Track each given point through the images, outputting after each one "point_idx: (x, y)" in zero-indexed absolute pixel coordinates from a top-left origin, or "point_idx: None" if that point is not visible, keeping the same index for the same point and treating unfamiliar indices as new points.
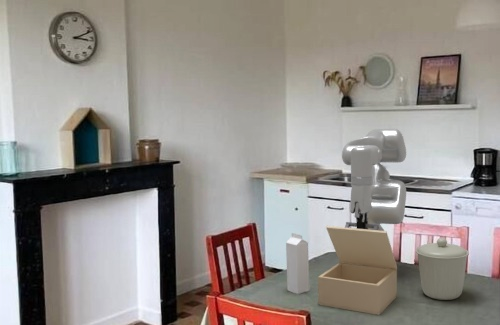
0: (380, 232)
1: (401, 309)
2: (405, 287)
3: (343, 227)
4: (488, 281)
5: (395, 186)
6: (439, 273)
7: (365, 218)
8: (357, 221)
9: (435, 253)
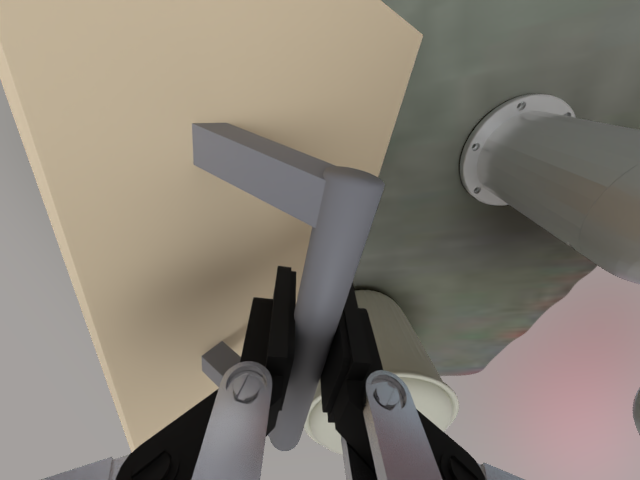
0: (131, 449)
1: None
2: (405, 246)
3: (48, 191)
4: (455, 368)
5: None
6: None
7: (350, 438)
8: (232, 375)
9: (318, 423)
